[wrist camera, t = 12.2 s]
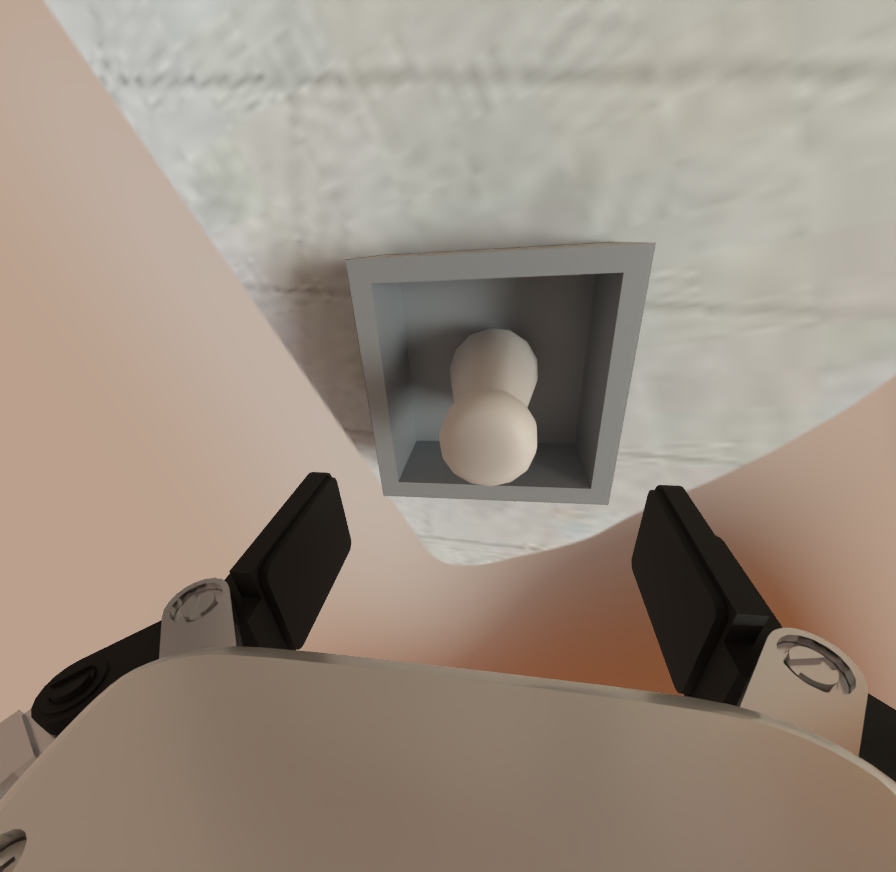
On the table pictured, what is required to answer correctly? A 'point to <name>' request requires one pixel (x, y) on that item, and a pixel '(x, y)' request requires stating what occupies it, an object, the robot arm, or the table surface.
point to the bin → (527, 315)
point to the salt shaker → (491, 409)
